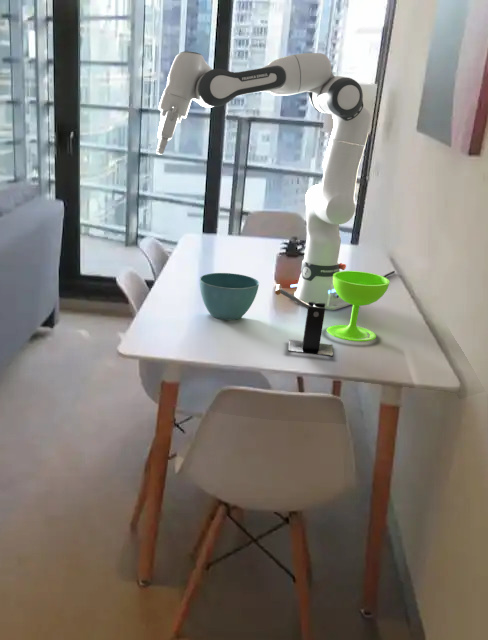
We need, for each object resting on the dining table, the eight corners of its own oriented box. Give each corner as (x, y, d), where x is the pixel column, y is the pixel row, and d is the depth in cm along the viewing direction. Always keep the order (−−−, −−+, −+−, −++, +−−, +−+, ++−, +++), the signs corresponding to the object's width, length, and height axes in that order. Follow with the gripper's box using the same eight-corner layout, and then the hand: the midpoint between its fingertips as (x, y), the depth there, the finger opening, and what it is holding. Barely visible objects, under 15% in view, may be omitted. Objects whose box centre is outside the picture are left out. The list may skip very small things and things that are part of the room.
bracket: (287, 354, 199) (294, 307, 194) (288, 343, 207) (295, 298, 202) (332, 360, 197) (340, 312, 191) (331, 348, 205) (338, 302, 199)
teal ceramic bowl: (186, 311, 231) (189, 274, 226) (235, 306, 238) (239, 270, 233) (214, 329, 216) (218, 290, 211) (265, 324, 222) (270, 286, 218)
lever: (273, 294, 195) (277, 287, 194) (274, 288, 200) (278, 281, 199) (318, 320, 195) (323, 313, 194) (317, 314, 200) (322, 307, 199)
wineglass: (346, 348, 206) (357, 287, 199) (312, 330, 219) (321, 272, 212) (390, 342, 212) (401, 283, 205) (354, 325, 225) (364, 269, 218)
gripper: (186, 108, 205) (171, 156, 208) (181, 113, 224) (167, 157, 228) (165, 101, 204) (150, 149, 208) (162, 106, 224) (148, 151, 227)
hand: (159, 153), depth 218 cm, fingers open, 8 cm apart
